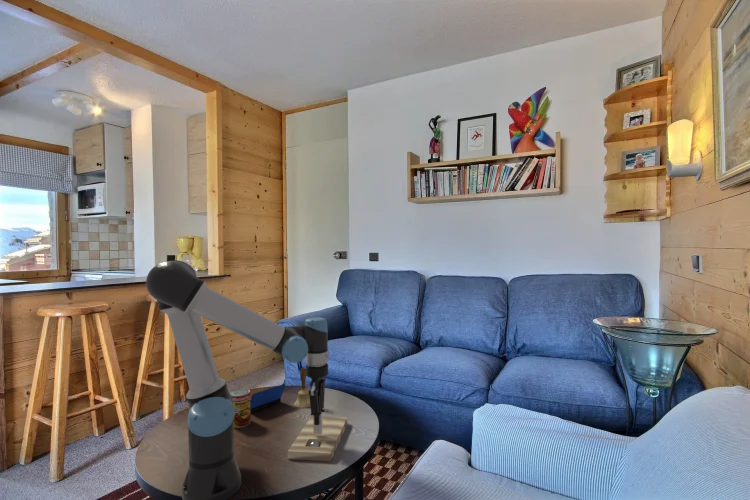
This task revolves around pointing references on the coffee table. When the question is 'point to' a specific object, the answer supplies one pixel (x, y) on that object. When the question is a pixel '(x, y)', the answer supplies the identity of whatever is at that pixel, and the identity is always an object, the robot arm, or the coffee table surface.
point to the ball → (314, 444)
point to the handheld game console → (266, 398)
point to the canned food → (241, 407)
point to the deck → (318, 440)
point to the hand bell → (303, 393)
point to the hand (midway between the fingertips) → (318, 432)
